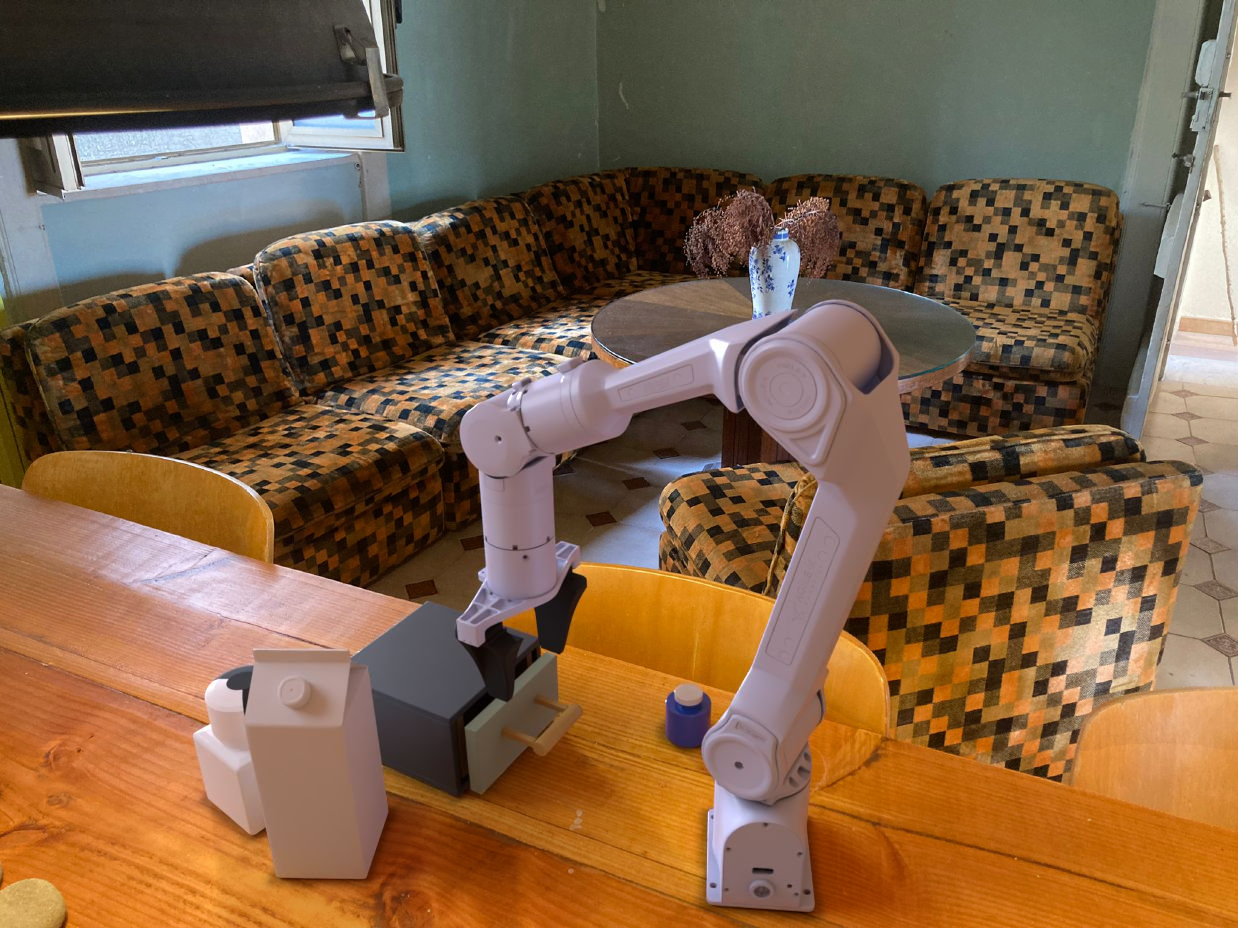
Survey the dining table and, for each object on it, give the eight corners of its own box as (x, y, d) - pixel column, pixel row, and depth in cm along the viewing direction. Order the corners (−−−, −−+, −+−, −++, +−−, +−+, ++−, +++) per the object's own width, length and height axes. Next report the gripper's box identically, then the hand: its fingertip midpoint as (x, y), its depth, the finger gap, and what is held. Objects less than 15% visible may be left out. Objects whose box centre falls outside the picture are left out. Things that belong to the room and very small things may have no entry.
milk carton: (305, 811, 82) (270, 621, 74) (389, 812, 81) (362, 622, 73) (276, 879, 75) (233, 678, 67) (366, 880, 75) (334, 679, 67)
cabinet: (544, 709, 93) (540, 637, 90) (457, 797, 83) (449, 719, 79) (435, 669, 99) (428, 600, 96) (342, 747, 89) (329, 671, 85)
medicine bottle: (279, 754, 88) (257, 644, 83) (326, 789, 84) (305, 676, 79) (206, 799, 83) (178, 685, 78) (252, 838, 79) (225, 720, 74)
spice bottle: (710, 749, 88) (711, 707, 86) (664, 746, 88) (664, 705, 86) (710, 719, 92) (712, 678, 90) (666, 717, 92) (666, 676, 90)
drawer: (602, 729, 89) (600, 669, 87) (527, 814, 80) (523, 750, 77) (455, 675, 97) (450, 618, 94) (371, 747, 88) (362, 686, 85)
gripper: (531, 488, 85) (538, 618, 91) (420, 559, 74) (436, 703, 80) (599, 506, 82) (601, 640, 88) (494, 584, 71) (504, 732, 76)
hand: (527, 672), depth 83 cm, fingers open, 7 cm apart
